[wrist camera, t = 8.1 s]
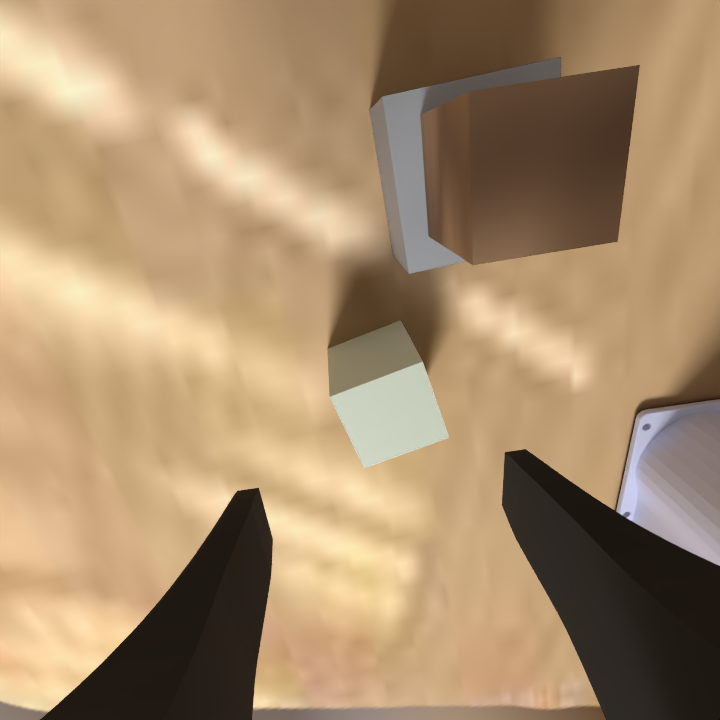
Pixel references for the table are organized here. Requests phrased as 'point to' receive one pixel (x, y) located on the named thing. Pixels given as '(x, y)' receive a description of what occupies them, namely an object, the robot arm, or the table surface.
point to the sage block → (384, 395)
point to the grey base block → (405, 158)
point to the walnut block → (529, 165)
